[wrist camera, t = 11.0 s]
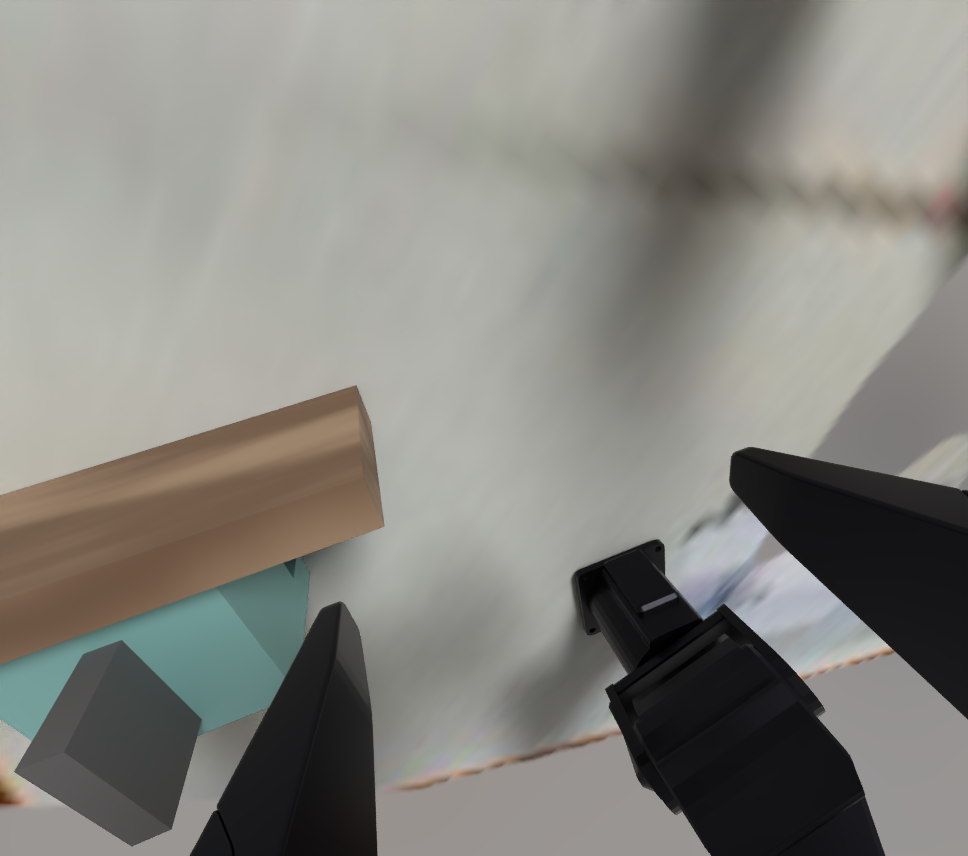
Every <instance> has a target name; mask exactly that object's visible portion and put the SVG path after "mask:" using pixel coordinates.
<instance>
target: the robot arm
mask: <svg viewBox="0 0 968 856" xmlns="http://www.w3.org/2000/svg"><path fill="white" fill-rule="evenodd" d="M729 482H730V486H731V488H732V490H733V491H734V493H735V494H736V495H737V496H738V497H739V498H740V499H741V500H742V502H743V503H744V504H745V505H746V506H747V507H748V508H749V509H750V511H751V512H752V513H753V514H754V515H755V516H756V517H757V518H758V520H759V521H760V522H761V523H762V524H763V525H764V526H765V528H766V529H767V530H768V531H769V532H770V533H771V534H772V535H773V536H774V537H775V539H776V540H777V541H778V542H779V543H780V544H781V545H782V546H783V547H784V548H785V549H786V550H787V551H788V552H789V553H791V554H792V555H793V556H794V557H795V558H796V559H797V560H798V561H799V562H800V563H801V564H802V565H803V566H804V567H805V568H807V569H808V570H809V571H810V572H811V573H812V574H813V575H814V576H815V577H816V578H817V579H818V580H819V581H820V582H822V583H823V584H824V585H825V586H826V587H827V588H828V589H829V590H830V591H831V592H832V593H833V594H834V595H835V596H836V597H838V598H839V599H840V600H841V601H842V602H843V603H844V604H845V605H846V606H847V607H848V608H849V609H850V610H851V611H853V612H854V613H855V614H856V615H857V616H858V617H859V618H860V619H861V620H862V621H863V622H864V623H865V624H866V625H867V626H869V627H870V628H871V629H872V630H873V631H874V632H875V633H876V634H877V635H878V636H879V637H880V638H881V639H882V640H883V641H885V642H886V643H887V644H888V645H889V646H890V647H891V648H892V649H893V650H894V651H895V652H896V653H897V654H898V655H900V656H901V657H902V658H903V659H904V660H905V661H906V662H907V663H908V664H909V665H910V666H911V667H912V668H913V669H914V670H916V671H917V672H918V673H919V674H920V675H921V676H922V677H923V678H924V679H925V680H926V681H927V682H928V683H930V684H931V685H932V686H933V687H934V688H935V689H936V690H937V691H938V692H939V693H940V694H941V695H942V696H943V697H944V698H945V699H947V700H948V701H949V702H950V703H951V704H952V705H953V706H954V707H955V708H956V709H957V710H958V711H960V713H962V714H963V715H964V716H965V717H966V718H967V719H968V490H962V491H961V490H960V489H957V488H953V487H948V486H943V485H938V484H933V483H928V482H923V481H918V480H913V479H908V478H903V477H898V476H893V475H888V474H883V473H879V472H874V471H869V470H864V469H859V468H853V467H849V466H844V465H838V464H834V463H829V462H824V461H819V460H814V459H809V458H804V457H799V456H794V455H790V454H785V453H780V452H775V451H770V450H765V449H760V448H755V447H747V448H744V449H741V450H739V451H736V452H734V453H733V454H732V456H731V463H730V477H729ZM575 578H576V584H577V590H578V596H579V603H580V609H581V615H582V621H583V627H584V630H585V632H586V633H587V635H594V634H596V633H598V632H601V631H602V633H603V634H604V636H605V638H606V639H607V641H608V643H609V644H610V646H611V648H612V649H613V651H614V652H615V654H616V656H617V657H618V659H619V661H620V662H621V664H622V666H623V667H624V669H625V670H626V672H627V674H628V675H627V676H625V677H624V678H623V679H621V680H620V681H618V682H617V683H616V684H614V685H613V684H611V685H610V686H608V687H607V688H606V689H605V690H606V692H607V694H608V697H609V699H610V701H611V702H610V703H609V704H610V705H609V709H610V711H611V712H612V714H613V716H614V718H615V720H616V722H617V724H618V726H619V728H620V730H621V732H622V734H623V736H624V739H625V742H626V745H627V748H628V751H629V754H630V757H631V761H632V764H633V767H634V770H635V773H636V776H637V778H638V780H639V782H640V783H641V785H642V786H643V787H644V788H647V789H649V790H652V791H654V792H655V793H656V794H657V795H658V796H659V798H660V799H661V800H663V802H664V803H665V804H666V806H667V807H668V808H669V809H670V810H671V811H672V812H673V813H674V814H675V815H678V814H679V813H681V812H682V811H683V813H684V815H685V816H686V818H687V819H688V821H689V823H690V824H691V826H692V827H693V829H694V831H695V832H696V834H697V835H698V837H699V838H700V840H701V842H702V843H703V845H704V847H705V848H706V849H707V851H708V852H709V853H710V855H711V856H885V854H884V851H883V848H882V845H881V842H880V839H879V836H878V833H877V830H876V827H875V825H874V822H873V819H872V816H871V813H870V810H869V807H868V804H867V801H866V798H865V793H864V790H863V787H862V785H861V782H860V780H859V777H858V775H857V772H856V770H855V767H854V764H853V761H852V759H851V757H850V755H849V754H848V752H847V751H846V750H845V749H844V747H843V746H842V745H841V744H840V743H839V742H838V741H837V739H836V738H835V737H834V736H833V735H832V734H831V733H830V732H829V730H828V729H827V728H826V727H825V726H824V725H823V724H822V722H820V720H819V719H818V718H817V717H819V716H820V715H822V714H823V713H824V712H825V709H824V707H823V705H822V704H821V703H820V701H819V700H818V698H817V697H816V696H815V695H814V693H813V692H812V691H811V690H810V688H809V687H808V686H807V685H806V684H805V683H804V681H803V680H802V679H801V678H800V677H799V676H798V675H797V673H796V672H795V671H794V670H793V669H792V668H791V667H790V666H789V665H788V664H787V663H786V662H785V661H784V660H783V659H782V658H781V657H780V656H779V655H778V654H777V653H776V652H775V651H774V650H773V649H772V648H771V647H770V646H769V645H768V644H767V643H766V642H765V641H764V640H763V639H761V638H760V637H759V636H758V635H757V634H756V633H755V632H754V631H753V630H752V629H751V628H750V627H749V626H747V625H746V624H745V623H744V622H743V621H742V620H741V619H740V618H739V617H738V616H737V615H736V614H735V613H733V612H732V611H731V610H730V609H729V608H728V607H727V606H726V605H725V604H722V605H721V606H720V607H718V608H717V611H716V612H714V613H713V614H711V615H710V616H709V617H707V618H706V619H705V620H703V619H702V617H701V616H700V615H699V614H698V613H697V612H696V611H695V609H694V608H693V607H692V606H691V605H690V604H689V603H688V601H687V600H686V599H685V598H684V597H683V596H682V595H681V593H680V592H679V591H678V590H677V589H676V588H675V587H674V585H673V584H672V583H671V582H670V581H669V580H668V579H667V578H666V576H665V547H664V544H663V543H662V542H661V541H660V540H653V541H651V542H648V543H646V544H643V545H641V546H638V547H636V548H633V549H631V550H628V551H626V552H623V553H621V554H618V555H616V556H613V557H611V558H608V559H606V560H603V561H601V562H598V563H596V564H593V565H591V566H588V567H586V568H583V569H581V570H579V571H578V572H577V573H576V575H575ZM375 804H376V803H375V776H374V749H373V724H372V711H371V703H370V696H369V689H368V683H367V676H366V669H365V663H364V656H363V649H362V643H361V636H360V632H359V629H358V627H357V625H356V623H355V621H354V619H353V618H352V616H351V614H350V612H349V610H348V609H347V607H346V605H345V604H344V603H343V602H337V603H334V604H332V605H329V606H326V607H324V608H322V609H321V611H320V612H319V614H318V616H317V617H316V619H315V621H314V623H313V625H312V627H311V629H310V631H309V633H308V634H307V636H306V638H305V640H304V642H303V644H302V646H301V648H300V649H299V651H298V653H297V655H296V657H295V659H294V661H293V663H292V665H291V666H290V668H289V670H288V672H287V674H286V676H285V678H284V680H283V682H282V683H281V685H280V687H279V689H278V691H277V693H276V695H275V697H274V699H273V700H272V702H271V704H270V706H269V708H268V710H267V712H266V714H265V716H264V717H263V719H262V721H261V723H260V725H259V727H258V729H257V731H256V732H255V734H254V736H253V738H252V740H251V742H250V744H249V746H248V748H247V749H246V751H245V753H244V755H243V757H242V759H241V761H240V763H239V765H238V766H237V768H236V770H235V772H234V774H233V776H232V778H231V780H230V782H229V783H228V785H227V787H226V789H225V791H224V793H223V795H222V797H221V798H220V800H219V802H218V804H217V809H218V810H216V811H214V812H213V813H212V815H211V817H210V819H209V821H208V823H207V825H206V826H205V828H204V830H203V832H202V834H201V836H200V838H199V840H198V841H197V843H196V845H195V847H194V849H193V850H192V852H191V854H190V856H377V831H376V805H375Z"/></svg>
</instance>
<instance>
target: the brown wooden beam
mask: <svg viewBox="0 0 968 856" xmlns="http://www.w3.org/2000/svg"><path fill="white" fill-rule="evenodd" d="M381 527H384V519H383V511H382V504H381V496H380V488H379V480H378V473H377V465H376V457H375V450H374V442H373V434H372V426H371V421H370V419H369V416H368V414H367V411H366V409H365V406H364V404H363V401H362V399H361V396H360V394H359V391H358V389H357V386H353V387H349V388H346V389H343V390H340V391H336V392H333V393H330V394H327V395H323V396H320V397H317V398H314V399H311V400H307V401H304V402H301V403H298V404H294V405H291V406H288V407H285V408H282V409H278V410H275V411H272V412H269V413H265V414H262V415H259V416H256V417H252V418H249V419H246V420H243V421H240V422H236V423H233V424H230V425H227V426H223V427H220V428H217V429H214V430H211V431H207V432H204V433H201V434H198V435H194V436H191V437H188V438H185V439H182V440H178V441H175V442H172V443H169V444H165V445H162V446H159V447H156V448H152V449H149V450H146V451H143V452H140V453H136V454H133V455H130V456H127V457H123V458H120V459H117V460H114V461H111V462H107V463H104V464H101V465H98V466H94V467H91V468H88V469H85V470H81V471H78V472H75V473H72V474H69V475H65V476H62V477H59V478H56V479H52V480H49V481H46V482H43V483H40V484H36V485H33V486H30V487H27V488H23V489H20V490H17V491H14V492H11V493H7V494H4V495H1V496H0V664H3V663H6V662H8V661H11V660H14V659H17V658H20V657H22V656H25V655H28V654H31V653H33V652H36V651H39V650H42V649H45V648H47V647H50V646H53V645H56V644H59V643H61V642H64V641H67V640H70V639H72V638H75V637H78V636H81V635H84V634H86V633H89V632H92V631H95V630H98V629H100V628H103V627H106V626H109V625H111V624H114V623H117V622H120V621H123V620H125V619H128V618H131V617H134V616H136V615H139V614H142V613H145V612H148V611H150V610H153V609H156V608H159V607H162V606H164V605H167V604H170V603H173V602H175V601H178V600H181V599H184V598H187V597H189V596H192V595H195V594H198V593H201V592H203V591H206V590H209V589H212V588H214V587H217V586H220V585H223V584H226V583H228V582H231V581H234V580H237V579H239V578H242V577H245V576H248V575H251V574H253V573H256V572H259V571H262V570H265V569H267V568H270V567H273V566H276V565H278V564H281V563H284V562H287V561H290V560H292V559H295V558H298V557H301V556H304V555H306V554H309V553H312V552H315V551H317V550H320V549H323V548H326V547H329V546H331V545H334V544H337V543H340V542H342V541H345V540H348V539H351V538H354V537H356V536H359V535H362V534H365V533H368V532H370V531H373V530H376V529H379V528H381Z"/></svg>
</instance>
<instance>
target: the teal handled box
mask: <svg viewBox="0 0 968 856" xmlns="http://www.w3.org/2000/svg"><path fill="white" fill-rule="evenodd" d="M309 576H310V572H309V570H308V569H307V567H306V565H305V564H304V562H303V560H302V559H301V557H298V558H295V559H292V560H290V561H287V562H284V563H281V564H278V565H276V566H273V567H270V568H267V569H265V570H262V571H259V572H256V573H253V574H251V575H248V576H245V577H242V578H239V579H237V580H234V581H231V582H228V583H226V584H223V585H220V586H217V587H214V588H212V589H209V590H206V591H203V592H201V593H198V594H195V595H192V596H189V597H187V598H184V599H181V600H178V601H175V602H173V603H170V604H167V605H164V606H162V607H159V608H156V609H153V610H150V611H148V612H145V613H142V614H139V615H136V616H134V617H131V618H128V619H125V620H123V621H120V622H117V623H114V624H111V625H109V626H106V627H103V628H100V629H98V630H95V631H92V632H89V633H86V634H84V635H81V636H78V637H75V638H72V639H70V640H67V641H64V642H61V643H59V644H56V645H53V646H50V647H47V648H45V649H42V650H39V651H36V652H33V653H31V654H28V655H25V656H22V657H20V658H17V659H14V660H11V661H8V662H6V663H3V664H0V719H1V720H3V721H4V722H6V723H7V724H8V725H10V726H11V727H13V728H14V729H16V730H17V731H18V732H20V733H21V734H23V735H24V736H26V737H27V738H28V739H30V740H31V741H32V742H31V744H30V746H29V747H28V749H27V751H26V752H25V754H24V756H23V758H22V759H21V761H20V763H19V764H18V766H17V768H16V770H15V771H14V772H15V773H17V774H18V775H20V776H21V777H23V778H25V779H26V780H28V781H29V782H31V783H32V784H34V785H36V786H37V787H39V788H40V789H42V790H43V791H45V792H47V793H48V794H50V795H51V796H53V797H55V798H56V799H58V800H59V801H61V802H62V803H64V804H66V805H67V806H69V807H70V808H72V809H74V810H75V811H77V812H78V813H80V814H82V815H83V816H85V817H86V818H88V819H89V820H91V821H93V822H94V823H96V824H97V825H99V826H100V827H102V828H104V829H105V830H107V831H108V832H110V833H112V834H113V835H115V836H116V837H118V838H119V839H121V840H122V841H124V842H126V843H127V844H129V845H130V846H134V845H136V844H139V843H141V842H143V841H145V840H148V839H150V838H152V837H155V836H157V835H159V834H161V833H164V832H166V831H169V830H171V829H172V826H173V822H174V818H175V815H176V811H177V808H178V804H179V800H180V797H181V793H182V789H183V786H184V782H185V779H186V775H187V771H188V768H189V764H190V761H191V757H192V753H193V750H194V746H195V742H196V739H197V736H199V735H201V734H204V733H206V732H209V731H211V730H214V729H216V728H219V727H221V726H224V725H226V724H228V723H231V722H233V721H236V720H238V719H241V718H243V717H246V716H248V715H251V714H253V713H255V712H258V711H260V710H263V709H265V708H268V707H269V706H270V704H271V702H272V700H273V699H274V697H275V695H276V693H277V691H278V689H279V687H280V685H281V683H282V682H283V680H284V678H285V676H286V674H287V672H288V670H289V668H290V666H291V665H292V663H293V661H294V659H295V657H296V655H297V653H298V651H299V649H300V648H301V646H302V644H303V642H304V631H305V620H306V609H307V598H308V587H309Z"/></svg>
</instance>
